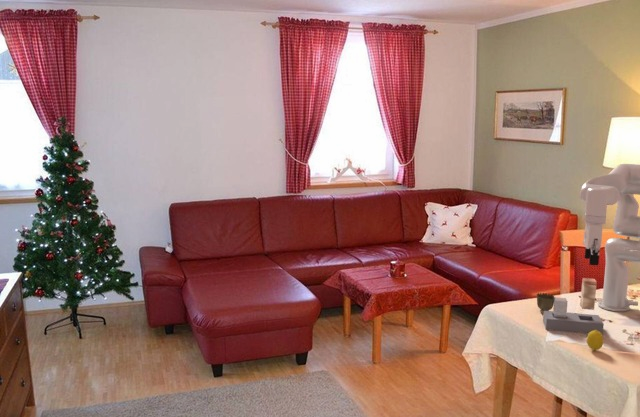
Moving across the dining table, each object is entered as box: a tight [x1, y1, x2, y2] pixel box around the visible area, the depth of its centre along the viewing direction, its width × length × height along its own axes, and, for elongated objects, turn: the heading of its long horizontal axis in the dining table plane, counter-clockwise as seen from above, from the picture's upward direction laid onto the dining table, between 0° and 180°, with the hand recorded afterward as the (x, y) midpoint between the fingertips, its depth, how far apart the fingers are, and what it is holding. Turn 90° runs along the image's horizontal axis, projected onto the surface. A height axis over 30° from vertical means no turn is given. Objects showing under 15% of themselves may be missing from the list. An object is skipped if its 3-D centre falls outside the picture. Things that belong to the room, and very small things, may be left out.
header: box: [542, 310, 604, 336], centre depth 237 cm, size 21×10×5 cm, turn 76°
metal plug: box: [552, 296, 568, 319], centre depth 237 cm, size 4×4×12 cm
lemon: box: [586, 330, 604, 352], centre depth 215 cm, size 6×6×8 cm
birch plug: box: [579, 277, 598, 311], centre depth 233 cm, size 4×4×12 cm
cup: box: [536, 292, 555, 314], centre depth 255 cm, size 8×7×8 cm
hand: (591, 261), depth 232 cm, fingers open, 9 cm apart
